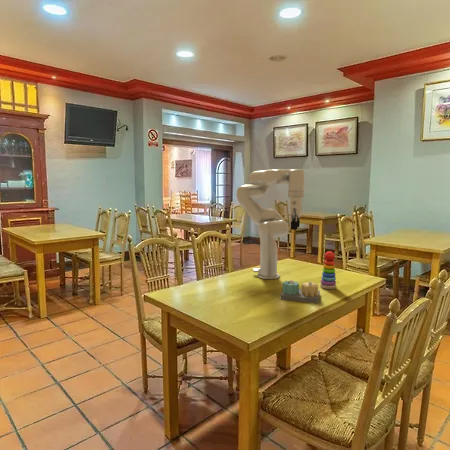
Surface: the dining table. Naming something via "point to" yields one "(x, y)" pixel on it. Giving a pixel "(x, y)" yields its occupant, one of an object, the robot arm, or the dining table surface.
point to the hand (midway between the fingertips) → (295, 228)
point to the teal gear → (290, 287)
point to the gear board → (300, 297)
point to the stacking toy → (328, 272)
